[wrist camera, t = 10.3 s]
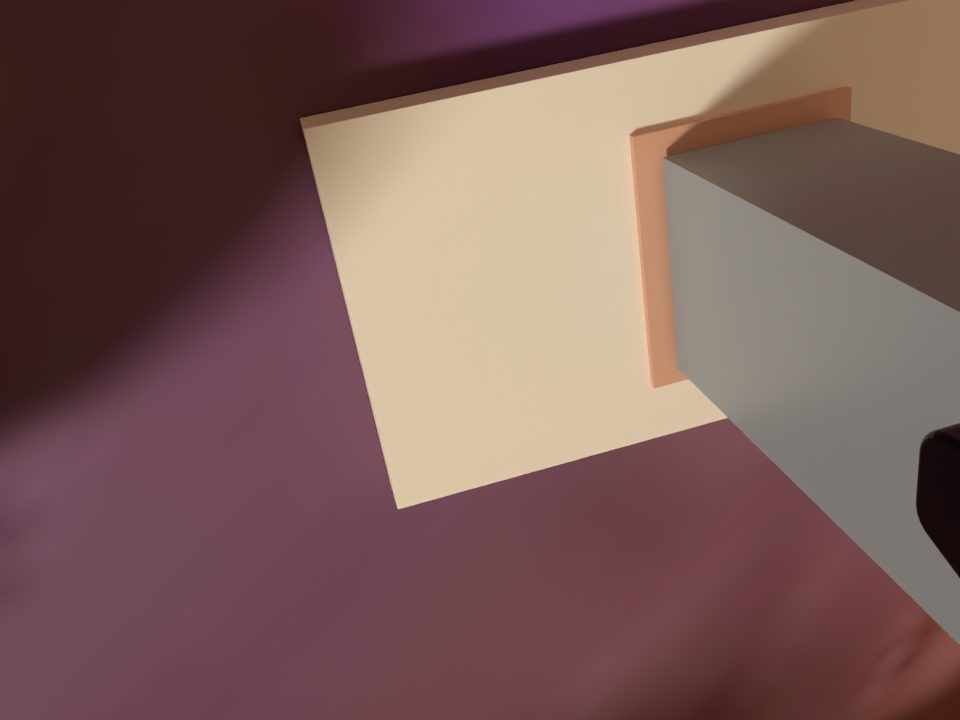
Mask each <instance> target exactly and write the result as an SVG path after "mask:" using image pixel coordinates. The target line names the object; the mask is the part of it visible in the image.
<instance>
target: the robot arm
mask: <svg viewBox="0 0 960 720" xmlns="http://www.w3.org/2000/svg"><path fill="white" fill-rule="evenodd" d="M916 510H917V515H918V518H919V521H920V523H921V525H922V527H923V529H924V530H925V532H926V534H927V535H928V536H929V538H930V539H931V540H932V542H933V543H934V544H935V546H936V547H937V548H938V550H939V551H940V552H941V554H942V555H943V557H944V558H945V559H946V561H947V562H948V563H949V565H950V566H951V567H952V569H953V570H954V571H955V573H956V574H957V575H958V577H959V578H960V423H957V424H954V425H951V426H947V427H944V428H940V429H937V430H933V431H931V432H929V433H928V434H926V435H925V436H924V438H923V440H922V441H921V444H920V450H919V464H918V478H917V492H916Z"/></svg>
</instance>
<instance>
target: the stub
mask: <svg viewBox="0 0 960 720" xmlns="http://www.w3.org/2000/svg"><path fill="white" fill-rule="evenodd" d="M663 169H664V184H665V198H666V212H667V226H668V240H669V255H670V269H671V283H672V297H673V311H674V326H675V340H676V354H677V368H678V369H679V370H680V371H681V372H682V373H683V374H684V375H685V376H686V377H687V378H688V379H689V380H690V381H691V382H692V383H693V384H694V385H695V386H696V387H697V388H698V389H699V390H700V391H701V392H702V393H703V394H704V395H705V396H706V397H707V398H708V399H709V400H710V401H711V402H712V403H713V404H714V405H716V406H717V407H718V408H719V409H720V410H721V411H722V412H723V413H724V414H725V415H726V416H727V417H728V418H729V419H730V420H731V421H732V422H733V423H734V424H735V425H736V426H737V427H738V428H739V429H740V430H741V431H742V432H743V433H744V434H745V435H746V436H747V437H748V438H749V439H750V440H751V441H752V442H753V443H754V444H755V445H756V446H757V447H758V448H759V449H760V450H761V451H762V452H763V453H764V454H766V455H767V456H768V457H769V458H770V459H771V460H772V461H773V462H774V463H775V464H776V465H777V466H778V467H779V468H780V469H781V470H782V471H783V472H784V473H785V474H786V475H787V476H788V477H789V478H790V479H791V480H792V481H793V482H794V483H795V484H796V485H797V486H798V487H799V488H800V489H801V490H802V491H803V492H804V493H805V494H806V495H807V496H808V497H809V498H810V499H811V500H812V501H813V502H814V503H816V504H817V505H818V506H819V507H820V508H821V509H822V510H823V511H824V512H825V513H826V514H827V515H828V516H829V517H830V518H831V519H832V520H833V521H834V522H835V523H836V524H837V525H838V526H839V527H840V528H841V529H842V530H843V531H844V532H845V533H846V534H847V535H848V536H849V537H850V538H851V539H852V540H853V541H854V542H855V543H856V544H857V545H858V546H859V547H860V548H861V549H862V550H863V551H864V552H865V553H867V554H868V555H869V556H870V557H871V558H872V559H873V560H874V561H875V562H876V563H877V564H878V565H879V566H880V567H881V568H882V569H883V570H884V571H885V572H886V573H887V574H888V575H889V576H890V577H891V578H892V579H893V580H894V581H895V582H896V583H897V584H898V585H899V586H900V587H901V588H902V589H903V590H904V591H905V592H906V593H907V594H908V595H909V596H910V597H911V598H912V599H913V600H914V601H915V602H917V603H918V604H919V605H920V606H921V607H922V608H923V609H924V610H925V611H926V612H927V613H928V614H929V615H930V616H931V617H932V618H933V619H934V620H935V621H936V622H937V623H938V624H939V625H940V626H941V627H942V628H943V629H944V630H945V631H946V632H947V633H948V634H949V635H950V636H951V637H952V638H953V639H954V640H955V641H956V642H957V643H958V644H959V645H960V578H959V577H958V575H957V574H956V573H955V571H954V570H953V569H952V567H951V566H950V565H949V563H948V562H947V561H946V559H945V558H944V557H943V555H942V554H941V552H940V551H939V550H938V548H937V547H936V546H935V544H934V543H933V542H932V540H931V539H930V538H929V536H928V535H927V534H926V532H925V530H924V529H923V527H922V525H921V523H920V521H919V518H918V515H917V510H916V492H917V478H918V464H919V450H920V444H921V441H922V440H923V438H924V436H925V435H926V434H928V433H929V432H931V431H933V430H937V429H940V428H944V427H947V426H951V425H954V424H957V423H960V154H956V153H953V152H950V151H946V150H943V149H940V148H937V147H933V146H930V145H927V144H923V143H920V142H917V141H913V140H910V139H907V138H903V137H900V136H897V135H894V134H890V133H887V132H884V131H880V130H877V129H874V128H870V127H867V126H864V125H860V124H857V123H854V122H851V121H847V120H844V119H841V118H837V117H836V118H832V119H828V120H823V121H819V122H815V123H810V124H806V125H802V126H797V127H793V128H789V129H784V130H780V131H776V132H771V133H767V134H763V135H758V136H754V137H750V138H745V139H741V140H737V141H732V142H728V143H724V144H719V145H715V146H711V147H706V148H702V149H698V150H693V151H689V152H685V153H681V154H676V155H672V156H668V157H663Z"/></svg>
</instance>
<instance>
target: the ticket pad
mask: <svg viewBox="0 0 960 720" xmlns="http://www.w3.org/2000/svg"><path fill="white" fill-rule="evenodd" d="M836 117H837V118H841V119H844V120H847V121H851V122H854V123H857V124H860V125H864V126H867V127H870V128H874V129H877V130H880V131H884V132H887V133H890V134H894V135H897V136H900V137H903V138H907V139H910V140H913V141H917V142H920V143H923V144H927V145H930V146H933V147H937V148H940V149H943V150H946V151H950V152H953V153H956V154H960V0H855V1H851V2H846V3H841V4H837V5H832V6H827V7H822V8H818V9H813V10H808V11H804V12H799V13H794V14H789V15H785V16H780V17H775V18H771V19H766V20H761V21H756V22H752V23H747V24H742V25H737V26H733V27H728V28H723V29H719V30H714V31H709V32H704V33H700V34H695V35H690V36H686V37H681V38H676V39H671V40H667V41H662V42H657V43H653V44H648V45H643V46H638V47H634V48H629V49H624V50H619V51H615V52H610V53H605V54H601V55H596V56H591V57H586V58H582V59H577V60H572V61H568V62H563V63H558V64H553V65H549V66H544V67H539V68H535V69H530V70H525V71H520V72H516V73H511V74H506V75H501V76H497V77H492V78H487V79H483V80H478V81H473V82H468V83H464V84H459V85H454V86H450V87H445V88H440V89H435V90H431V91H426V92H421V93H417V94H412V95H407V96H402V97H398V98H393V99H388V100H384V101H379V102H374V103H369V104H365V105H360V106H355V107H350V108H346V109H341V110H336V111H332V112H327V113H322V114H317V115H313V116H308V117H303V118H300V122H301V126H302V130H303V134H304V138H305V142H306V146H307V150H308V154H309V158H310V162H311V166H312V170H313V174H314V178H315V182H316V186H317V190H318V194H319V198H320V202H321V206H322V210H323V214H324V218H325V222H326V226H327V230H328V234H329V238H330V242H331V247H332V251H333V255H334V259H335V263H336V267H337V271H338V275H339V279H340V283H341V287H342V291H343V295H344V299H345V303H346V307H347V311H348V315H349V319H350V323H351V327H352V331H353V335H354V339H355V343H356V347H357V351H358V355H359V359H360V363H361V367H362V371H363V375H364V379H365V383H366V387H367V391H368V395H369V399H370V403H371V407H372V411H373V415H374V419H375V423H376V427H377V431H378V435H379V439H380V443H381V447H382V451H383V455H384V459H385V463H386V467H387V471H388V475H389V479H390V483H391V487H392V490H393V494H394V497H395V501H396V505H397V508H398V509H401V508H404V507H408V506H412V505H415V504H419V503H422V502H426V501H430V500H433V499H437V498H440V497H444V496H448V495H451V494H455V493H458V492H462V491H466V490H469V489H473V488H476V487H480V486H484V485H487V484H491V483H494V482H498V481H502V480H505V479H509V478H512V477H516V476H520V475H523V474H527V473H530V472H534V471H538V470H541V469H545V468H548V467H552V466H556V465H559V464H563V463H566V462H570V461H574V460H577V459H581V458H584V457H588V456H592V455H595V454H599V453H602V452H606V451H610V450H613V449H617V448H620V447H624V446H628V445H631V444H635V443H638V442H642V441H646V440H649V439H653V438H656V437H660V436H664V435H667V434H671V433H674V432H678V431H682V430H685V429H689V428H692V427H696V426H700V425H703V424H707V423H710V422H714V421H718V420H721V419H725V418H728V417H727V416H726V415H725V414H724V413H723V412H722V411H721V410H720V409H719V408H718V407H717V406H716V405H714V404H713V403H712V402H711V401H710V400H709V399H708V398H707V397H706V396H705V395H704V394H703V393H702V392H701V391H700V390H699V389H698V388H697V387H696V386H695V385H694V384H693V383H692V382H691V381H690V380H689V379H688V378H687V377H686V376H685V375H684V374H683V373H682V372H681V371H680V370H679V369H678V368H677V354H676V340H675V326H674V311H673V297H672V283H671V269H670V255H669V240H668V226H667V212H666V198H665V184H664V169H663V157H668V156H672V155H676V154H681V153H685V152H689V151H693V150H698V149H702V148H706V147H711V146H715V145H719V144H724V143H728V142H732V141H737V140H741V139H745V138H750V137H754V136H758V135H763V134H767V133H771V132H776V131H780V130H784V129H789V128H793V127H797V126H802V125H806V124H810V123H815V122H819V121H823V120H828V119H832V118H836Z"/></svg>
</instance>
